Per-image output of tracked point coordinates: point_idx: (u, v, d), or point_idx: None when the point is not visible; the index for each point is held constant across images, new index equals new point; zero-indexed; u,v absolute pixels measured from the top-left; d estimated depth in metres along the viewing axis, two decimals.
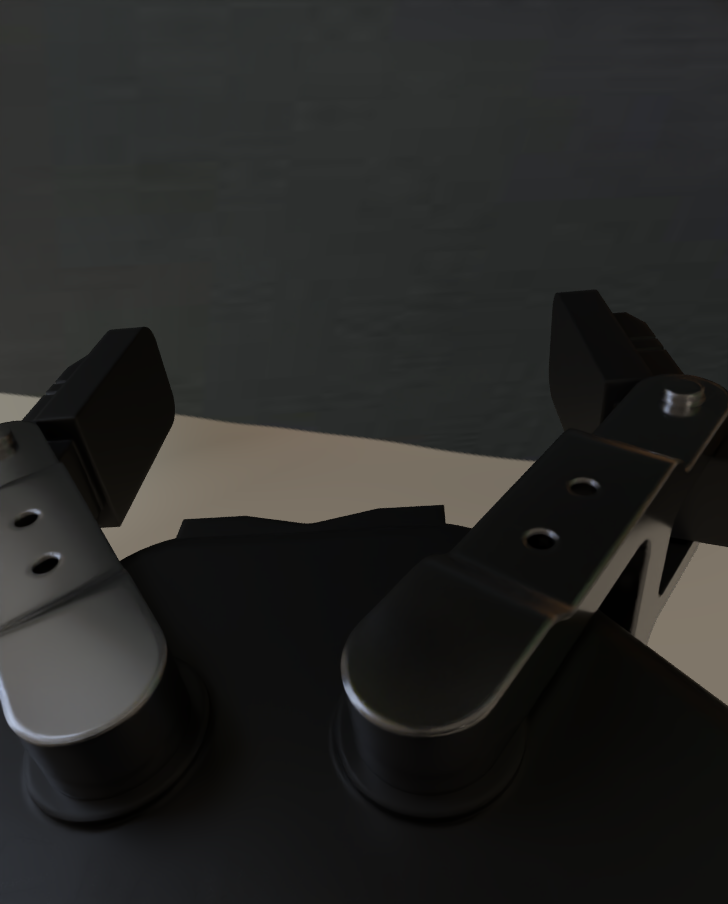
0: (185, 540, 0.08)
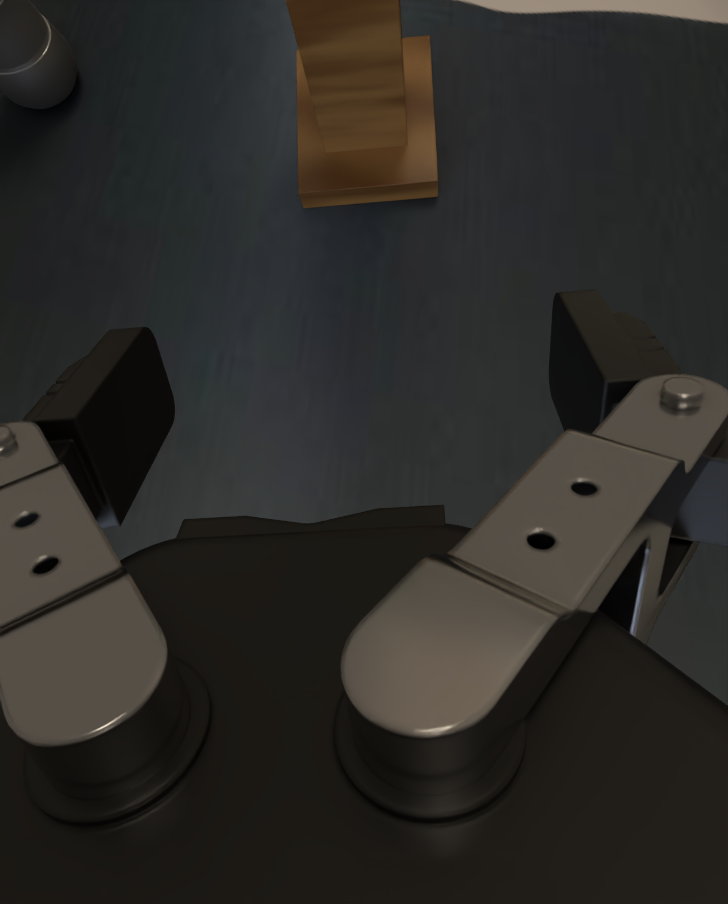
0: (184, 540, 0.08)
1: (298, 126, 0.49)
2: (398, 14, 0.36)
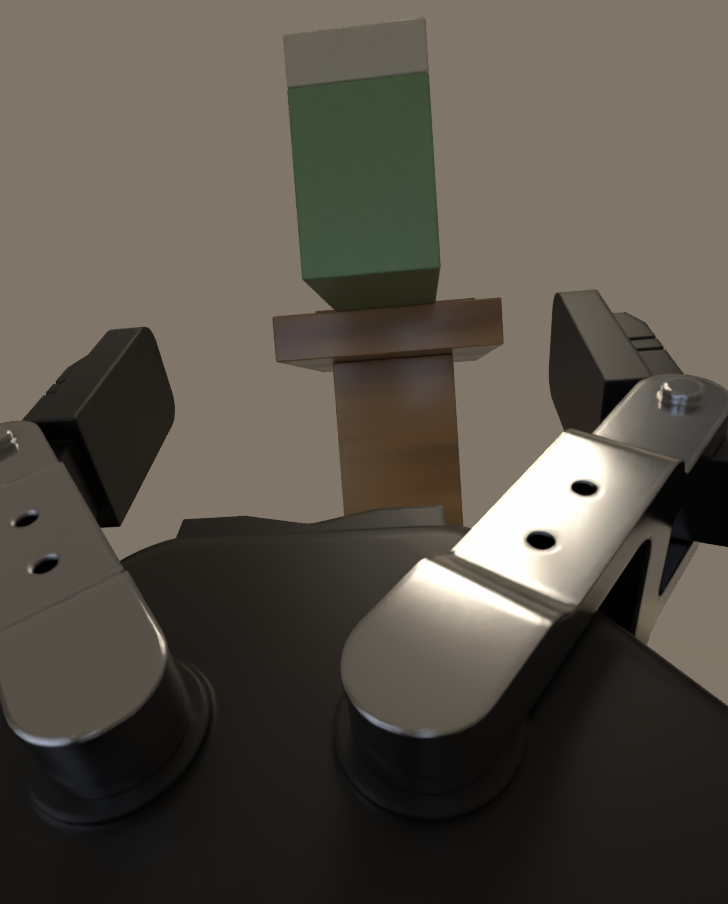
0: (184, 539, 0.08)
1: None
2: None
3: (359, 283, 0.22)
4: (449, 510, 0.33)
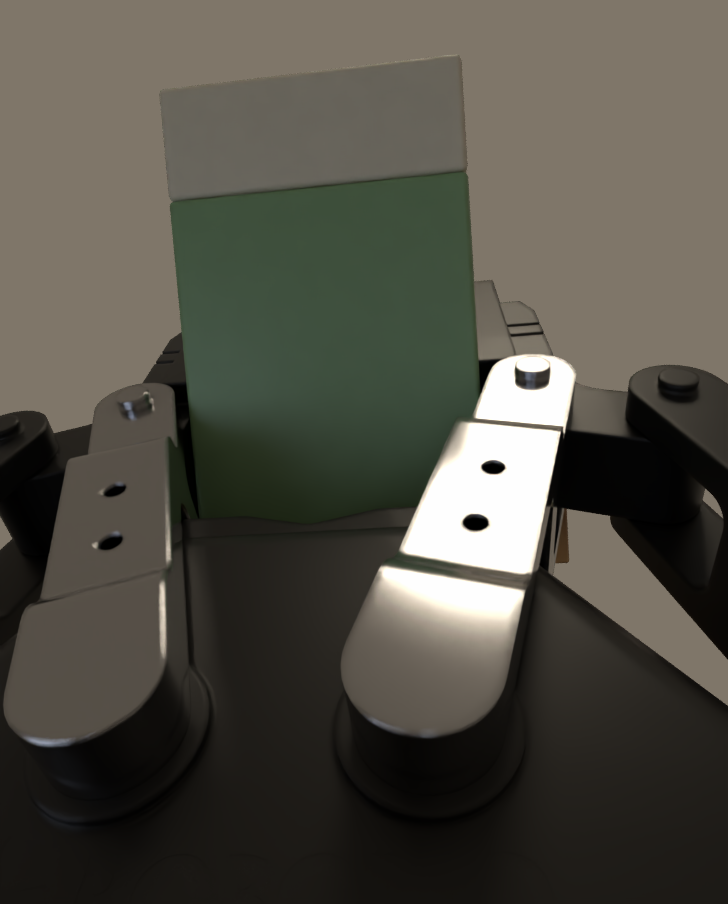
0: (184, 540, 0.08)
1: None
2: None
3: None
4: None
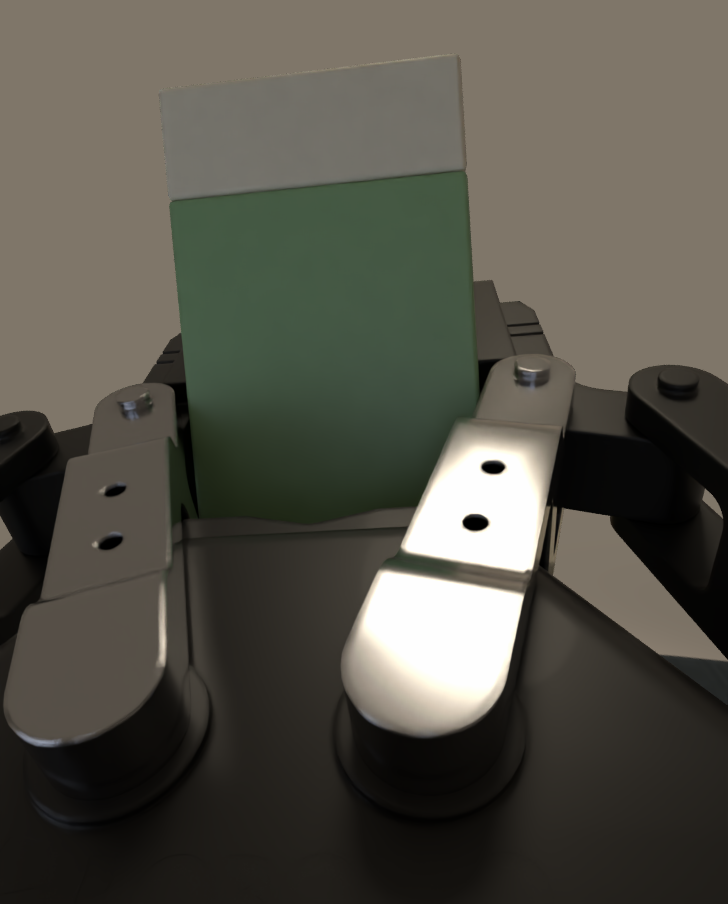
0: (185, 539, 0.08)
1: None
2: None
3: None
4: None
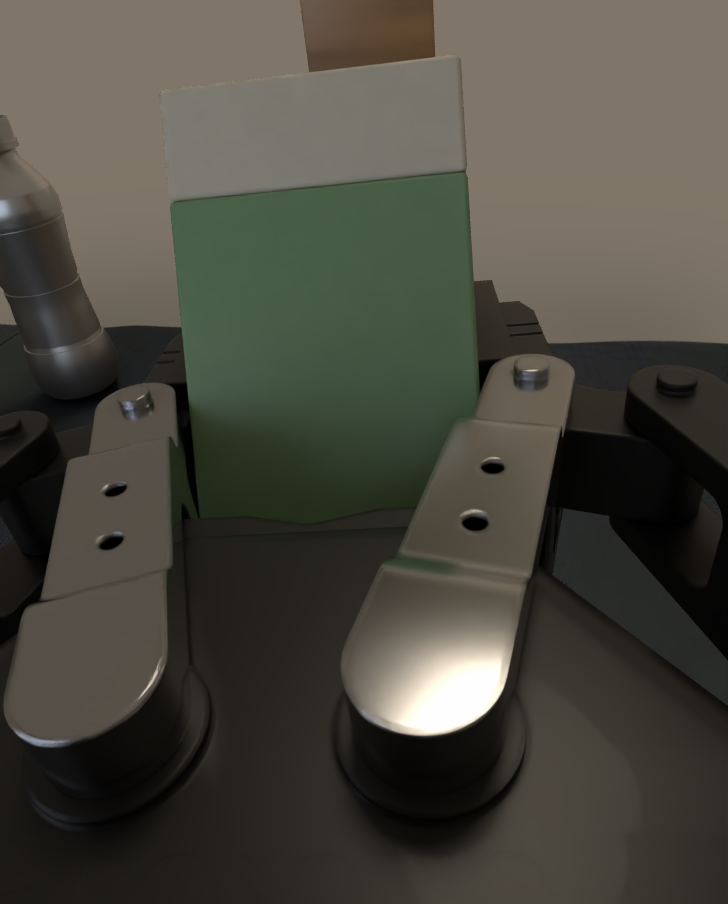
0: (184, 540, 0.08)
1: None
2: None
3: None
4: (420, 38, 0.31)
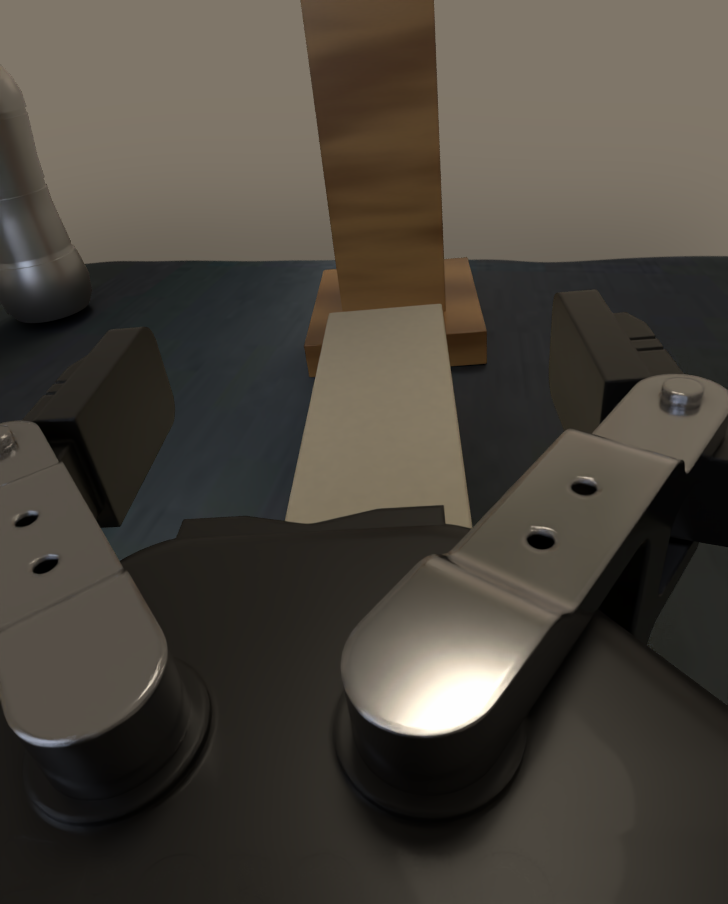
0: (184, 539, 0.08)
1: (315, 307, 0.41)
2: (436, 94, 0.32)
3: None
4: None
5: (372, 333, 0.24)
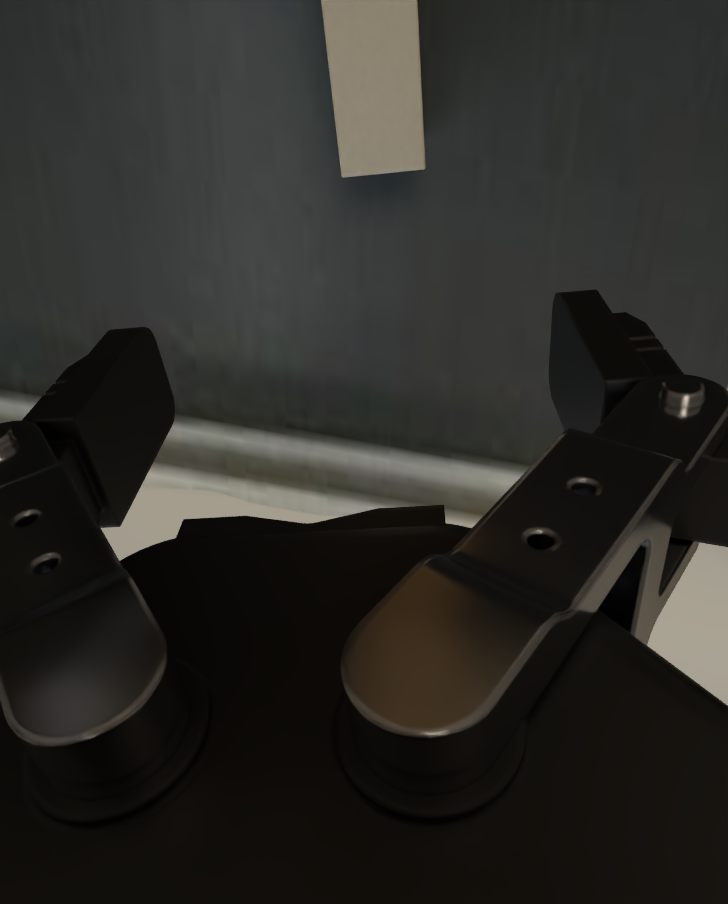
0: (184, 539, 0.08)
1: None
2: None
3: None
4: None
5: None
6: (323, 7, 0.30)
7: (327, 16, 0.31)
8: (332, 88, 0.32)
